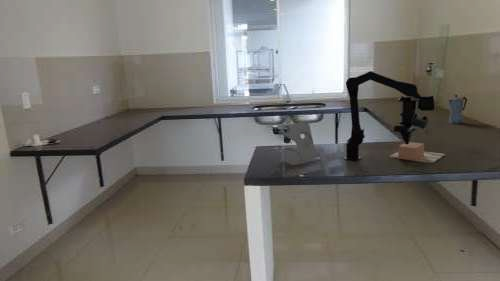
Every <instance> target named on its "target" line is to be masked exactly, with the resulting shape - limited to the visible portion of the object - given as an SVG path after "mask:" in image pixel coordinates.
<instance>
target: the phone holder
mask: <svg viewBox="0 0 500 281" xmlns="http://www.w3.org/2000/svg"><path fill="white" fill-rule="evenodd" d="M310 126H311V125H310V124H309V123H308V122H307V121H306V122H305V121H304V122H299V123H298V122H297V123H291V124H285V125H283V126H281V128H280V131H281V135H282V136H284V137H286V138H288V139H289V140H291V141H292V142H295V144H296V148H297V149H296V148H292V147H284V148H283V153H282V154H283V159H282V162H284V163H287V164H289V165H293V166H296V165H302V164H306V163H311V162H315V161H321V157H319V156H317V152H316V148H315V144H314V139H313V135H312V131H311V127H310ZM284 128H286V130H287V131H286V132H285V131H284ZM301 134H303V135H304V138H302V137H301Z"/></svg>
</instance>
